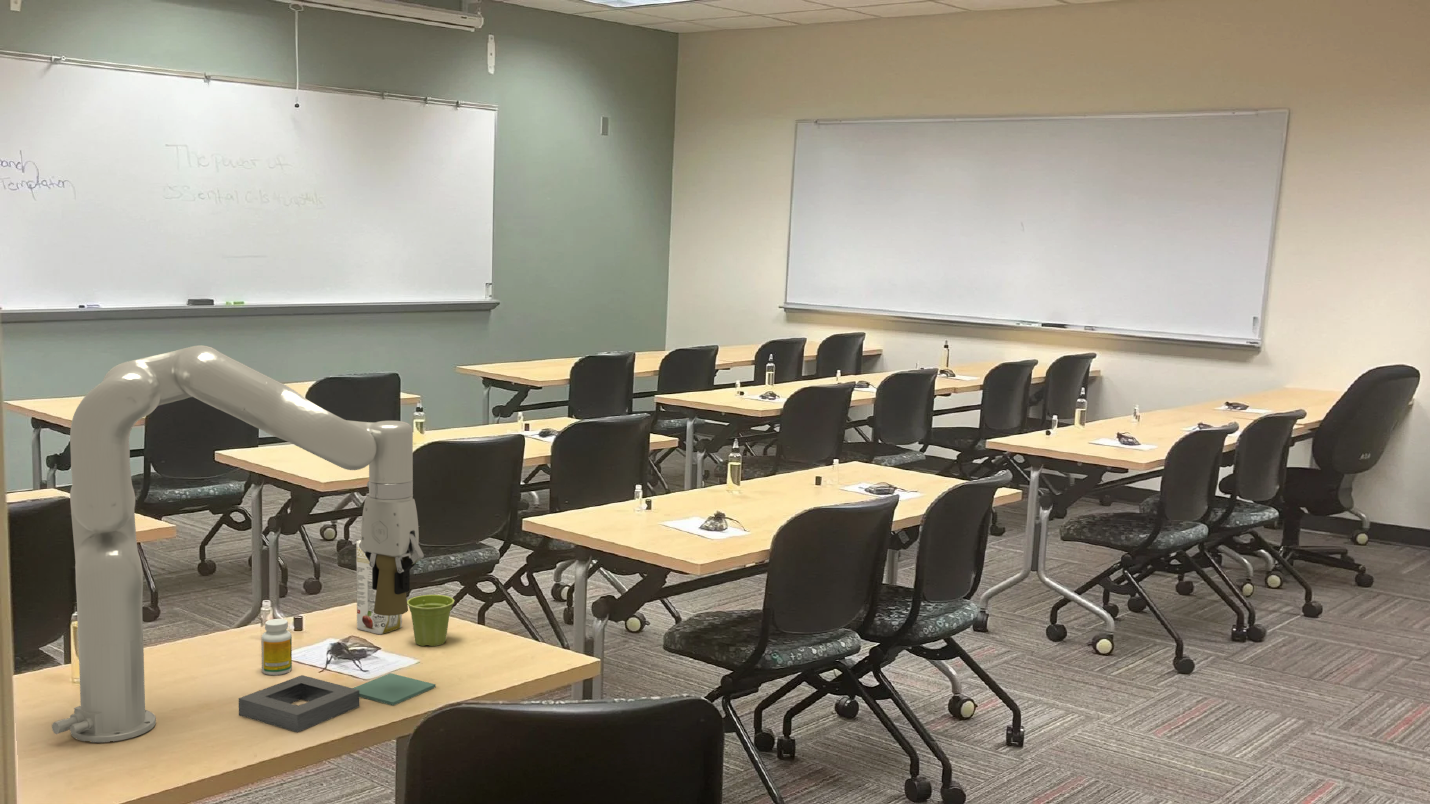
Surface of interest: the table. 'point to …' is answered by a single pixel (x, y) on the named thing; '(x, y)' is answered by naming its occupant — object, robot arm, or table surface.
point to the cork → (388, 589)
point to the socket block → (280, 712)
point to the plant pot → (430, 618)
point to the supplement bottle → (276, 648)
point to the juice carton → (370, 601)
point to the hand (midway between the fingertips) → (390, 589)
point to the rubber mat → (393, 689)
